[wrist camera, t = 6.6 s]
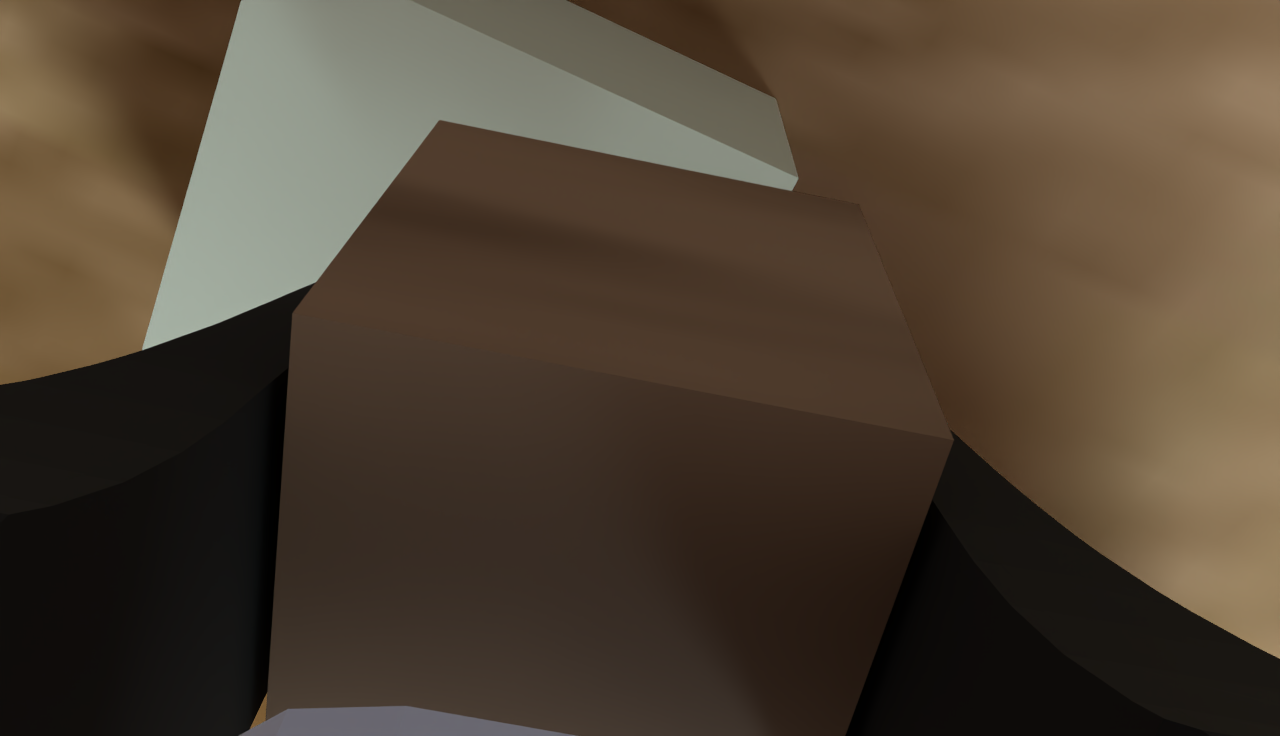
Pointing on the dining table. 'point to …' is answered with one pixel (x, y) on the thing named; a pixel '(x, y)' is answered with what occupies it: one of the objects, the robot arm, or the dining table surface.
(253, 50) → the sage block
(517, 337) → the walnut block
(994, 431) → the dining table surface
